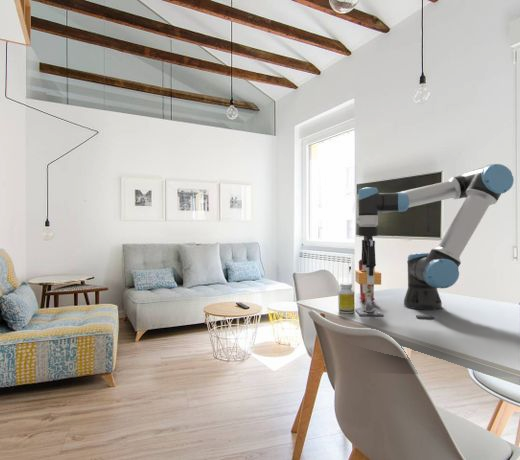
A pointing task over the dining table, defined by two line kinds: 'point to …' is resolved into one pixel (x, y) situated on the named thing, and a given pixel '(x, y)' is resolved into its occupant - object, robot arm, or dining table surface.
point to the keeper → (369, 308)
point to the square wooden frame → (362, 277)
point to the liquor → (365, 287)
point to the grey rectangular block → (425, 317)
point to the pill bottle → (346, 298)
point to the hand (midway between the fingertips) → (368, 282)
